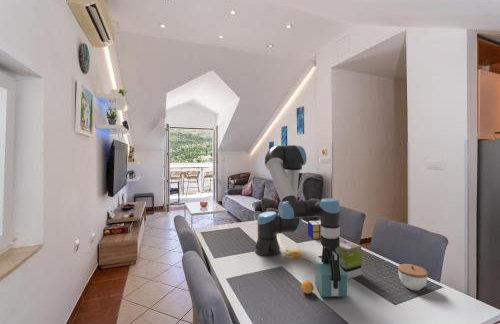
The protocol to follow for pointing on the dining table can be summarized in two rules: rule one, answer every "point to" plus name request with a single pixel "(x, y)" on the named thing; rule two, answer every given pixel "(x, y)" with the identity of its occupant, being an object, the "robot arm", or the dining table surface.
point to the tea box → (349, 258)
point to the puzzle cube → (314, 229)
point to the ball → (307, 287)
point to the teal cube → (324, 280)
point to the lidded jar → (412, 276)
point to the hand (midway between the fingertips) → (330, 287)
